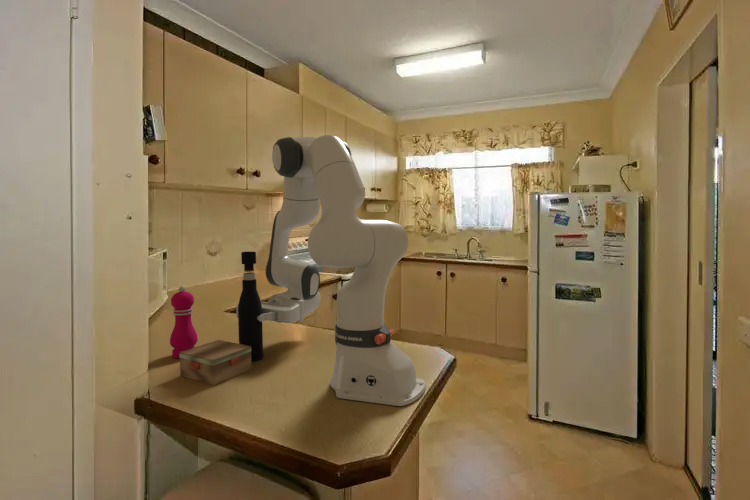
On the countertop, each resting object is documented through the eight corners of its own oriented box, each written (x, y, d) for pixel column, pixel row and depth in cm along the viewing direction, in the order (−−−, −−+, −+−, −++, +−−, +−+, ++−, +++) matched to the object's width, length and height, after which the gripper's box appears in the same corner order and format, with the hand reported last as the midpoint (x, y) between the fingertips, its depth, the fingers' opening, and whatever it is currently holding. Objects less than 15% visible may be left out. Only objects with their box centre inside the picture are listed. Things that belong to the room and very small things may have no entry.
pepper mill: (187, 360, 113) (185, 288, 112) (164, 358, 115) (162, 287, 113) (203, 351, 120) (201, 284, 119) (181, 350, 122) (179, 283, 120)
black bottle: (267, 356, 116) (265, 251, 114) (252, 363, 110) (249, 253, 108) (250, 353, 119) (247, 250, 117) (234, 360, 113) (231, 252, 111)
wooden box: (253, 369, 106) (252, 346, 106) (213, 386, 95) (213, 361, 95) (219, 361, 112) (218, 339, 112) (178, 376, 101) (177, 353, 101)
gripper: (255, 294, 130) (221, 302, 118) (307, 300, 120) (275, 309, 108) (256, 314, 130) (221, 323, 118) (308, 321, 121) (276, 332, 109)
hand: (248, 316), depth 113 cm, fingers closed on black bottle, 6 cm apart
